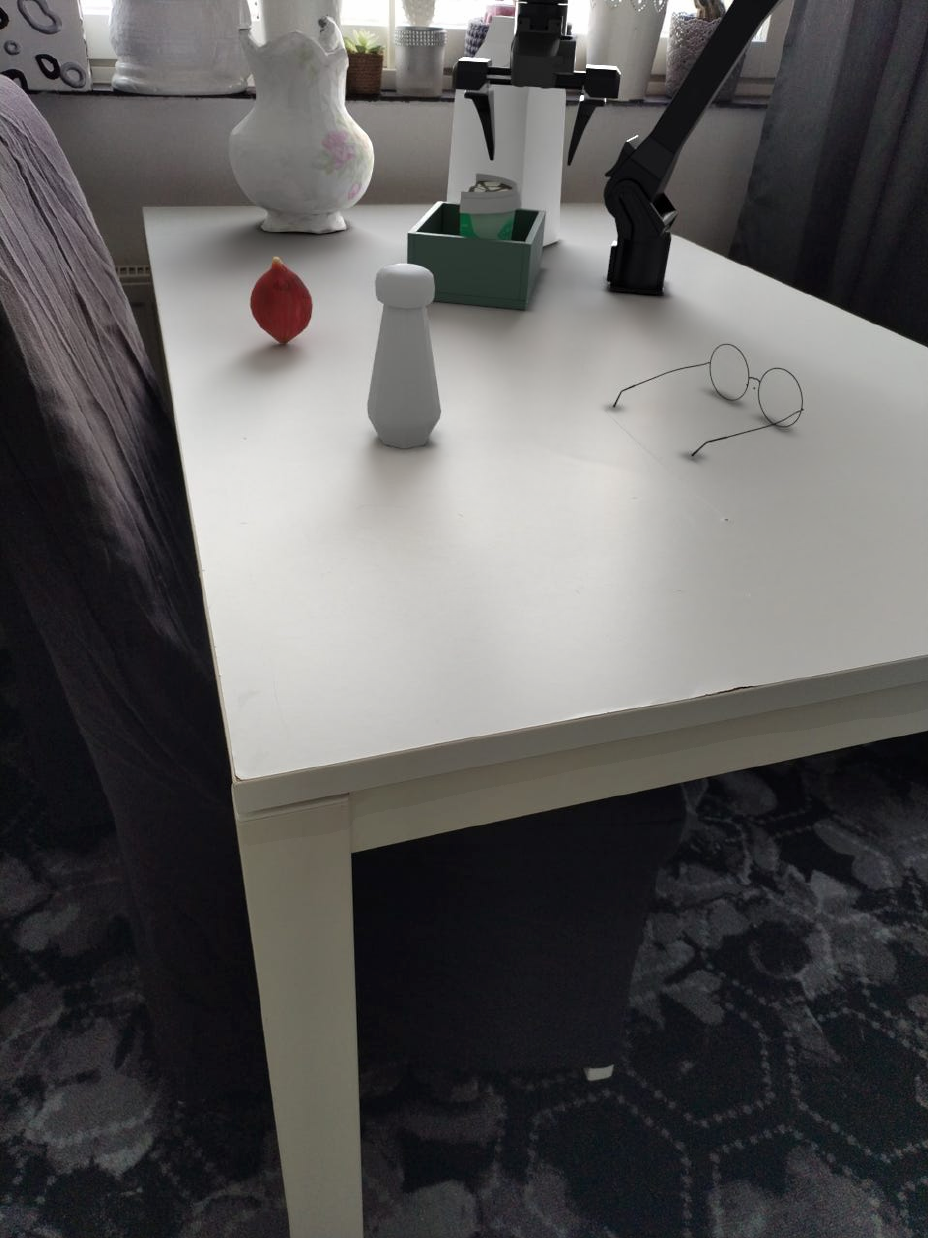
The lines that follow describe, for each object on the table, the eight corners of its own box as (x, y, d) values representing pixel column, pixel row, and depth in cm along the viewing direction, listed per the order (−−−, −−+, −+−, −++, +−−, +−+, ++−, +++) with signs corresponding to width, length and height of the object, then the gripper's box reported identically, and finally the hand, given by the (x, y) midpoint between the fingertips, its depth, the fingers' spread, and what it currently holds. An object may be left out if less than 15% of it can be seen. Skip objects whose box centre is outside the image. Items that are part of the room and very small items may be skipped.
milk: (558, 240, 126) (580, 20, 110) (518, 256, 118) (536, 20, 102) (486, 226, 131) (498, 13, 115) (443, 240, 123) (450, 13, 107)
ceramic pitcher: (272, 210, 137) (244, 16, 123) (395, 209, 135) (381, 11, 120) (223, 244, 120) (183, 23, 105) (362, 244, 118) (341, 18, 103)
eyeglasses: (699, 462, 69) (713, 401, 66) (604, 403, 78) (613, 347, 75) (802, 439, 74) (820, 381, 71) (702, 386, 83) (714, 332, 80)
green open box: (540, 269, 113) (546, 210, 109) (525, 310, 99) (531, 244, 95) (436, 259, 114) (437, 200, 110) (406, 298, 100) (407, 232, 96)
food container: (509, 292, 101) (517, 196, 95) (456, 287, 101) (460, 192, 95) (521, 264, 110) (528, 176, 105) (472, 260, 111) (477, 172, 105)
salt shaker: (367, 421, 73) (364, 255, 65) (437, 422, 73) (442, 257, 65) (367, 452, 68) (364, 277, 60) (442, 453, 68) (448, 279, 61)
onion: (324, 338, 88) (320, 254, 83) (297, 357, 84) (291, 269, 79) (272, 329, 89) (265, 246, 85) (242, 347, 85) (234, 260, 80)
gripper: (447, -1, 91) (443, 168, 100) (630, 9, 89) (609, 180, 98) (461, -2, 100) (456, 153, 109) (628, 7, 98) (608, 163, 107)
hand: (530, 162), depth 105 cm, fingers open, 9 cm apart
